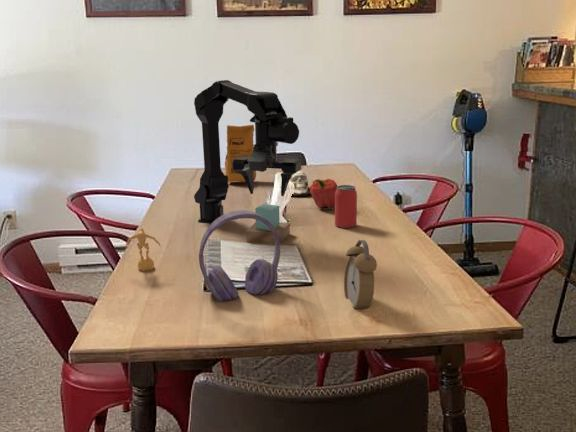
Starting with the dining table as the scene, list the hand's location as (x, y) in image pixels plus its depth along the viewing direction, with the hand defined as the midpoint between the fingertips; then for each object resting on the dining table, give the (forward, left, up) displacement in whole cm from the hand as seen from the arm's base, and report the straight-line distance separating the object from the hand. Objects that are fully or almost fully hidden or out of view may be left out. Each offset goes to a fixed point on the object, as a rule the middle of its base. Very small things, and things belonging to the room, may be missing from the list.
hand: (267, 194), depth 178 cm
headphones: (+9, -42, -13) cm, 45 cm away
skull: (-4, +55, -15) cm, 57 cm away
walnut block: (0, 0, -13) cm, 13 cm away
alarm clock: (+35, -39, -13) cm, 54 cm away
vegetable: (+6, +37, -13) cm, 40 cm away
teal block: (0, -1, -9) cm, 9 cm away
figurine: (-19, -35, -13) cm, 42 cm away
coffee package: (-37, +68, -13) cm, 78 cm away
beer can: (+18, +18, -13) cm, 29 cm away
